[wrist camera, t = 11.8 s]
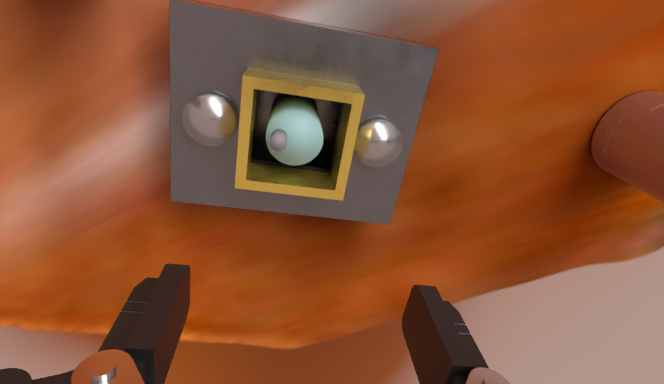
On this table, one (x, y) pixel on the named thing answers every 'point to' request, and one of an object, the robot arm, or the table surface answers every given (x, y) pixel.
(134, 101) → the table surface
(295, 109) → the spout can
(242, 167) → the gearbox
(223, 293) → the table surface
